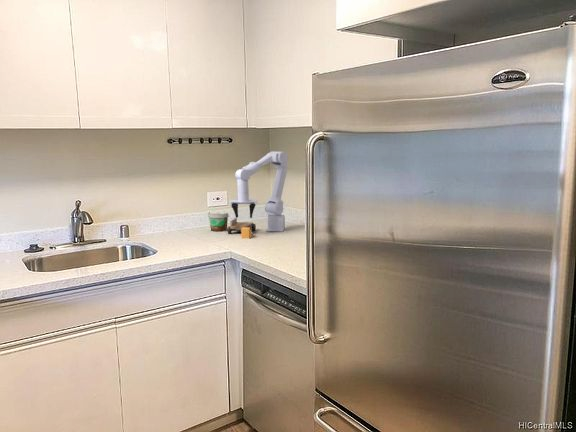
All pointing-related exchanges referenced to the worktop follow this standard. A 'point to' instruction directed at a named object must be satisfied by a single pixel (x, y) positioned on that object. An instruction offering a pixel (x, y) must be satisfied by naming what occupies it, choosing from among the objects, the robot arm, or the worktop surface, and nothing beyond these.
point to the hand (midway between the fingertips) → (244, 217)
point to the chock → (246, 233)
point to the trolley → (240, 226)
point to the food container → (218, 222)
